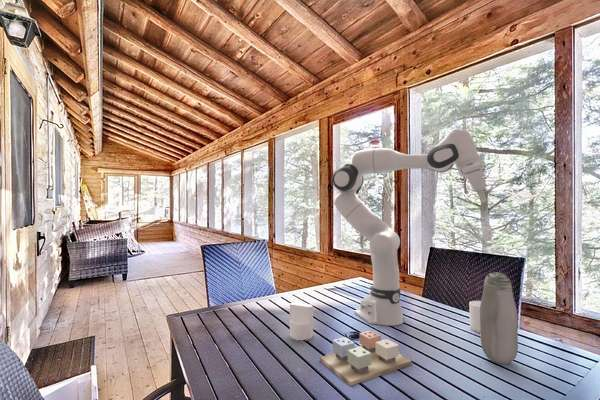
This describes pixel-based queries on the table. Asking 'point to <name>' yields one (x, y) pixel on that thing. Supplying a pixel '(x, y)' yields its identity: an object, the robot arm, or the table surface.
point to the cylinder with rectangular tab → (301, 321)
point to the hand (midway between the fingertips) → (484, 202)
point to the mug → (475, 315)
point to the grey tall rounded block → (498, 319)
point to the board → (366, 375)
